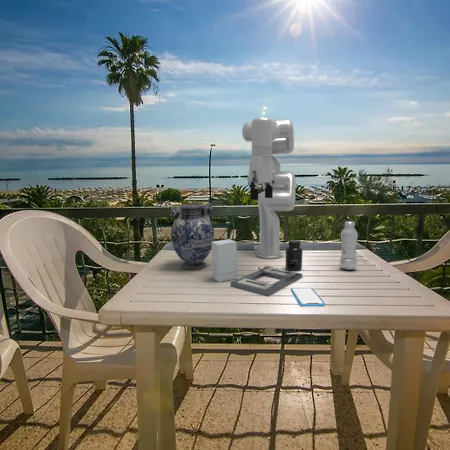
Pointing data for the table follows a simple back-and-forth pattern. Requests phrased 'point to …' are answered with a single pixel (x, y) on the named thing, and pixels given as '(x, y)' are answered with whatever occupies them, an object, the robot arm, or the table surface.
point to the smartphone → (307, 297)
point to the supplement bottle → (294, 256)
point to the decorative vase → (192, 233)
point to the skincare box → (224, 260)
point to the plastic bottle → (348, 246)
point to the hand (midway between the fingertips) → (261, 198)
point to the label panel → (266, 288)
